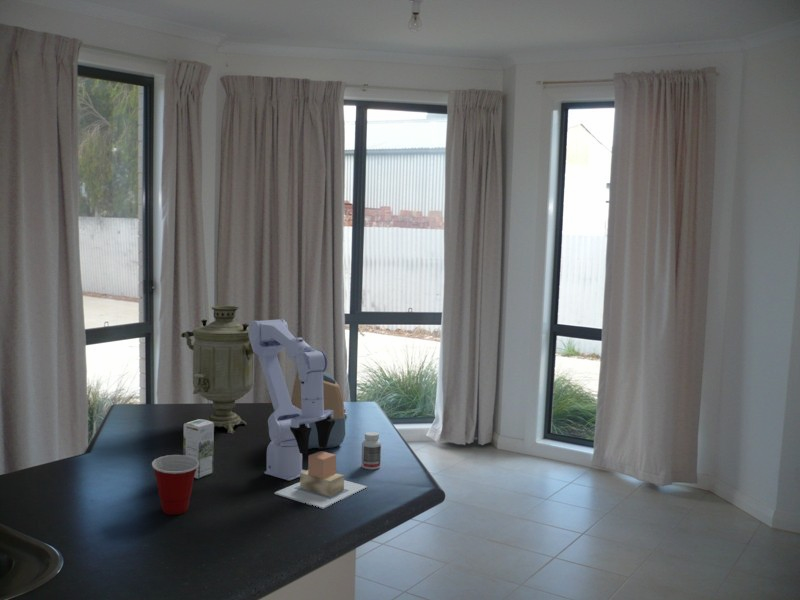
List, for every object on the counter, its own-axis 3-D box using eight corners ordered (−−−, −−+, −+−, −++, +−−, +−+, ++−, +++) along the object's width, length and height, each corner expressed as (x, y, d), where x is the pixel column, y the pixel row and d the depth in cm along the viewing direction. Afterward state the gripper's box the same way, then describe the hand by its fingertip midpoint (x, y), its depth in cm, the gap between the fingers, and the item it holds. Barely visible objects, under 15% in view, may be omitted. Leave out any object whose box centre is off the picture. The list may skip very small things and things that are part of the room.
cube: (308, 474, 192) (308, 455, 192) (320, 469, 197) (321, 450, 196) (323, 478, 190) (323, 459, 189) (335, 473, 194) (336, 454, 193)
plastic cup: (173, 523, 171) (173, 472, 170) (142, 512, 177) (141, 462, 175) (209, 508, 180) (209, 459, 179) (178, 498, 186) (177, 451, 185)
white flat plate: (274, 493, 191) (274, 492, 191) (320, 474, 206) (320, 473, 205) (323, 508, 182) (323, 507, 182) (367, 487, 197) (367, 486, 197)
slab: (300, 487, 194) (300, 472, 194) (314, 481, 199) (314, 467, 198) (330, 496, 189) (330, 481, 188) (343, 490, 193) (344, 475, 193)
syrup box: (198, 469, 207) (198, 418, 206) (214, 473, 204) (214, 421, 203) (182, 475, 202) (182, 422, 201) (198, 479, 199) (198, 426, 198)
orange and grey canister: (347, 449, 229) (348, 374, 226) (292, 452, 225) (293, 376, 222) (338, 433, 245) (339, 363, 242) (286, 436, 241) (287, 364, 238)
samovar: (154, 428, 244) (153, 307, 240) (216, 412, 266) (216, 300, 261) (216, 446, 227) (217, 316, 223) (277, 428, 249) (279, 308, 244)
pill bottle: (384, 468, 212) (384, 434, 211) (367, 471, 209) (368, 437, 208) (374, 462, 217) (374, 429, 216) (358, 465, 214) (358, 432, 213)
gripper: (305, 404, 184) (306, 458, 185) (342, 394, 196) (343, 446, 197) (284, 401, 188) (285, 454, 189) (321, 392, 200) (322, 442, 201)
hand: (313, 450), depth 193 cm, fingers open, 7 cm apart
